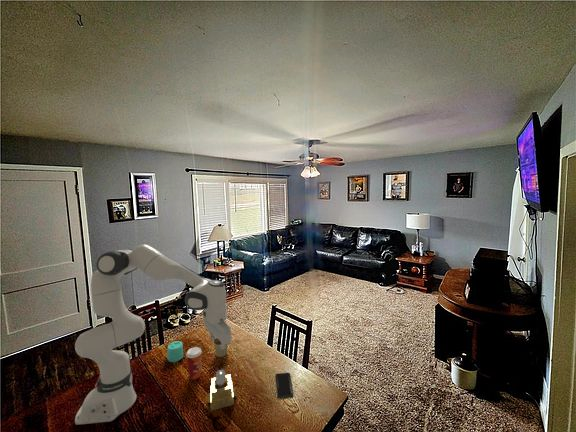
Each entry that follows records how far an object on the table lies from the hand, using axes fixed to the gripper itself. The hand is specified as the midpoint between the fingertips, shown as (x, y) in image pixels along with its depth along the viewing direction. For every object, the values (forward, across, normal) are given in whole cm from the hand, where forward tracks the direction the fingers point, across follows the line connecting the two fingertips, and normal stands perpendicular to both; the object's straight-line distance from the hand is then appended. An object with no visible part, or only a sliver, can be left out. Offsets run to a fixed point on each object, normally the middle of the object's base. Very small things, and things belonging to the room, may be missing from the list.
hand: (217, 343), depth 116 cm
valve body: (+26, -3, 0) cm, 27 cm away
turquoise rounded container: (+28, +43, +5) cm, 52 cm away
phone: (+27, -17, -26) cm, 41 cm away
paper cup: (+27, +21, +3) cm, 34 cm away
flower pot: (+27, +27, -16) cm, 42 cm away
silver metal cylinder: (+22, -3, 0) cm, 23 cm away
